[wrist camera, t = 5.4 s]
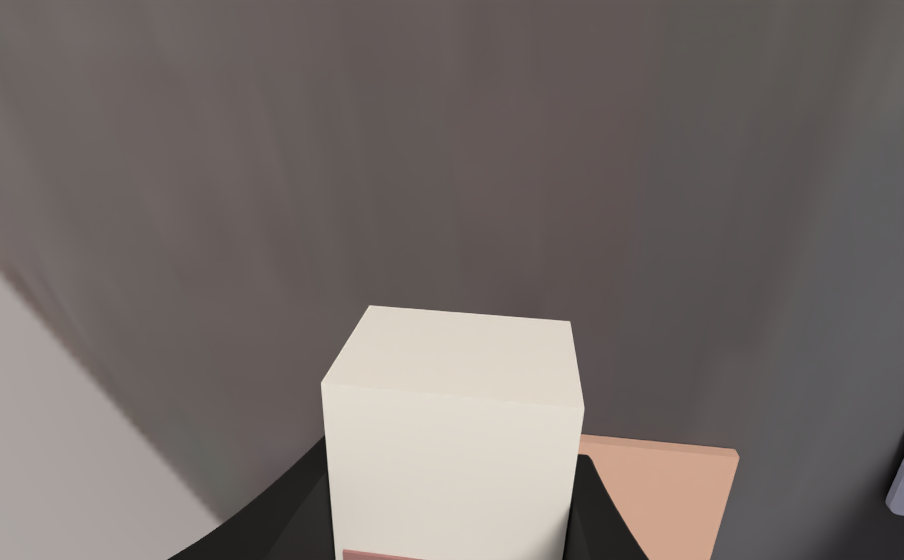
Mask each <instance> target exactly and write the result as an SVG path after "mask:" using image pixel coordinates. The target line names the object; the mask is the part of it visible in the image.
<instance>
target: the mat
mask: <svg viewBox="0 0 904 560" xmlns="http://www.w3.org/2000/svg"><path fill="white" fill-rule="evenodd" d="M578 454H585V455H589V457H590V458H591V459H592V461H593V463H594V465H595V468H596V470H597V472H598V474H599V476H600V478H601V480H602V482H603V484H604V486H605V488H606V490H607V492H608V493H609V495H610V497H611V499H612V501H613V503H614V504H615V506H616V508H617V510H618V511H619V513H620V515H621V516H622V518H623V520H624V521H625V523H626V525H627V526H628V528H629V530H630V531H631V533H632V535H633V536H634V538H635V539H636V541H637V542H638V544H639V545H640V547H641V548H642V550H643V551H644V553H645V554H646V556H647V557H648V559H649V560H710V557H711V553H712V550H713V546H714V543H715V540H716V536H717V533H718V529H719V526H720V522H721V519H722V516H723V512H724V509H725V505H726V502H727V499H728V495H729V492H730V488H731V485H732V481H733V478H734V475H735V471H736V468H737V464H738V461H739V456H738V454H737V452H736V450H735V449H728V448H718V447H707V446H697V445H687V444H676V443H666V442H656V441H645V440H635V439H625V438H615V437H604V436H594V435H584V434H581V435H580V442H579V449H578Z"/></svg>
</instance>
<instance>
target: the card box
mask: <svg viewBox="0 0 904 560" xmlns="http://www.w3.org/2000/svg"><path fill="white" fill-rule="evenodd" d="M321 390H322V401H323V413H324V425H325V437H326V449H327V461H328V473H329V485H330V496H331V508H332V520H333V532H334V544H335V556H336V560H562V557H563V551H564V544H565V537H566V530H567V523H568V517H569V510H570V503H571V496H572V490H573V483H574V476H575V469H576V462H577V456H578V449H579V442H580V435H581V429H582V422H583V415H584V403H583V397H582V391H581V385H580V379H579V373H578V367H577V360H576V354H575V348H574V342H573V336H572V330H571V324H570V321H558V320H546V319H533V318H520V317H508V316H495V315H483V314H470V313H457V312H445V311H432V310H420V309H407V308H394V307H382V306H369V307H368V309H367V310H366V312H365V314H364V315H363V317H362V318H361V320H360V322H359V323H358V325H357V326H356V328H355V330H354V331H353V333H352V334H351V336H350V338H349V339H348V341H347V342H346V344H345V346H344V347H343V349H342V350H341V352H340V354H339V355H338V357H337V358H336V360H335V362H334V363H333V365H332V366H331V368H330V370H329V371H328V373H327V374H326V376H325V378H324V379H323V381H322V382H321Z"/></svg>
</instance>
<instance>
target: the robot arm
mask: <svg viewBox="0 0 904 560" xmlns="http://www.w3.org/2000/svg"><path fill="white" fill-rule="evenodd" d="M885 502H886V505H887V506H888V508H889V509H890V510H891V511H892V512H893V513H894V514H897V515H903V516H904V459H903V461H902V464H901V466H900V468H899V470H898V473H897V475H896V477H895V479H894V482H893V484H892V486H891V488H890V491H889V493H888V495H887V497H886V501H885ZM168 560H336V556H335V544H334V532H333V520H332V508H331V496H330V485H329V473H328V461H327V449H326V437H325V435H324V436H323V437H322V438H321V439H320V440H319V441H318V442H317V443H316V444H315V445H314V446H313V447H312V448H311V449H310V450H309V451H308V452H307V453H306V454H305V455H304V456H303V457H302V458H301V459H299V460H298V461H297V462H296V463H295V464H294V465H293V466H292V467H291V468H290V469H289V470H288V471H286V472H285V473H284V474H283V475H282V476H281V477H280V478H279V479H278V480H276V481H275V482H274V483H273V484H272V485H271V486H270V487H268V488H267V489H266V490H265V491H264V492H262V493H261V494H260V495H259V496H258V497H256V498H255V499H254V500H253V501H251V502H250V503H249V504H248V505H247V506H245V507H244V508H243V509H242V510H240V511H239V512H238V513H236V514H235V515H234V516H233V517H231V518H230V519H229V520H227V521H226V522H225V523H223V524H222V525H220V526H219V527H218V528H216V529H215V530H213V531H212V532H210V533H209V534H208V535H206V536H205V537H203V538H202V539H200V540H199V541H197V542H195V543H194V544H192V545H191V546H189V547H187V548H186V549H184V550H182V551H181V552H179V553H178V554H176V555H174V556H173V557H171V558H169V559H168ZM562 560H649V559H648V557H647V556H646V554H645V553H644V551H643V550H642V548H641V547H640V545H639V544H638V542H637V541H636V539H635V538H634V536H633V535H632V533H631V531H630V530H629V528H628V526H627V525H626V523H625V521H624V520H623V518H622V516H621V515H620V513H619V511H618V510H617V508H616V506H615V504H614V503H613V501H612V499H611V497H610V495H609V493H608V492H607V490H606V488H605V486H604V484H603V482H602V480H601V478H600V476H599V474H598V472H597V470H596V468H595V465H594V463H593V461H592V459H591V458H590V457H589V455H585V454H578V456H577V462H576V469H575V476H574V483H573V490H572V496H571V503H570V510H569V517H568V523H567V530H566V537H565V544H564V551H563V557H562Z"/></svg>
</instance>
